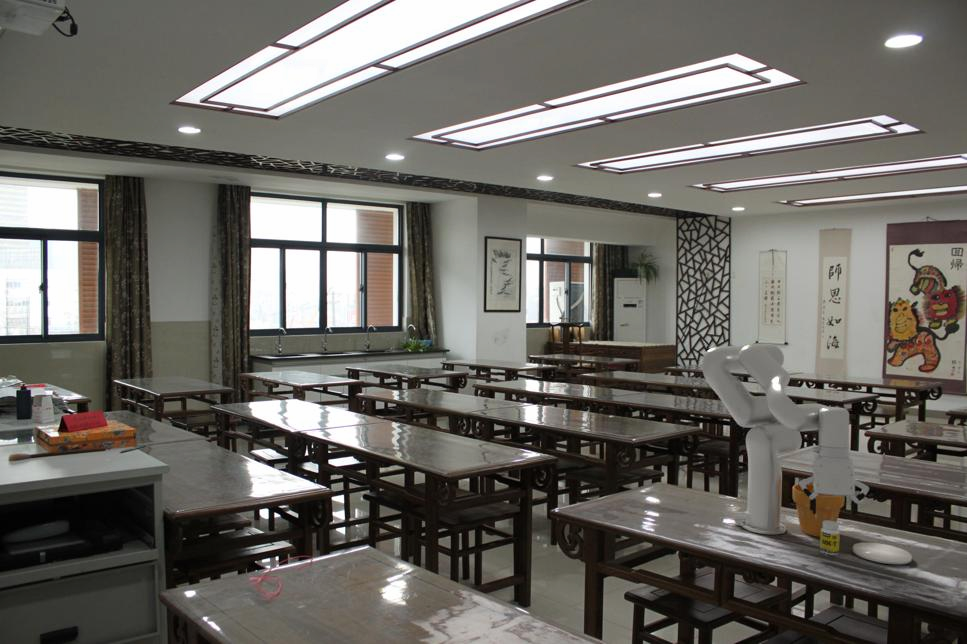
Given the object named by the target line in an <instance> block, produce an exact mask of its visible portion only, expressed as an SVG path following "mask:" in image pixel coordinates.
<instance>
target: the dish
mask: <svg viewBox="0 0 967 644" xmlns="http://www.w3.org/2000/svg"><path fill="white" fill-rule="evenodd" d="M852 552H853V553H854V554H855V555H856V556H858V557H860V558H862V559H865V560H868V561H872V562H876V563H879V564H885V565H886V564H888V565H906V564H910V563H911V562H912V558H913V555H912V554H911V553H910V552H909V551H907V550H905V549H903V548H900V547H897V546H893V545H889V544H886V543H878V542H858V543H855V544H853V545H852Z"/></svg>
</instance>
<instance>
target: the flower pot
mask: <svg viewBox="0 0 967 644" xmlns="http://www.w3.org/2000/svg"><path fill="white" fill-rule="evenodd" d="M806 488H807V489H808V490H809V491H810V492H811V491H812V490H813V489H814V487H813V483H809V484H806ZM845 498H846V496H836V495H824V494H818V495H817V496H816V497H815V499H816V514H813V511H812V510H810V498H809V497H808V496H807V495H806V494H805V493H804V492H803V490H802V488H801V486H800V484H799V483H798V484H794V485H792V501H794V502H795V505H796V511H797V518H798V522H799V527H800V531H801V532H802V533H804V534H807V535H808V536H809V535H810V536H813V537H819V536H820V535H821V528H822V527H823V526H822V524H823V521H825V520H829V521H834V522H837V521H838V518H839V514H840V511H841V508H843V507H844V505H845ZM837 523H838V522H837Z"/></svg>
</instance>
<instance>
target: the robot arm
mask: <svg viewBox="0 0 967 644" xmlns="http://www.w3.org/2000/svg"><path fill="white" fill-rule="evenodd" d="M784 361H785V355H784V353H783V351H782V350H781V349H780V347H778V345H775V344H772V343H750V344H748V345H729V346H728V345H726V346H725V345H723V346H715V347H712V348H710V349H708V350H707V351H705V353H704V354H703V357H702V361H701V369H702V373H703V374H702V375H703V377H704V378H705V381H706V382H707V384H708V385H709V387H710V388H711V389H712V390H713V391H714V393H715V394H716V395H717V396H718V398H719V399H720V401H721V402H722V404H723V406H724V407H725V409H726V410H727V411H728V412H729V414H730V416H731V417H732V418H733V420H734V421H735V422H736V424H737V425H738V426H740V427H742V428H750V429H749V430H748V432H747V433H746V437H745V445H746V446H745V447H746V453H747V459H748V460H747V461H748V462H747V463H748V464H747V466H748V469H747V471H748V473H747V474H748V475H747V478H748V479H747V503H746V504H747V508H746V510H745V511H741V512H740V511H736V510H733V511H732V510H731V518H734V519H735V520H741V525H740V526H741V527H742V528H743V529H745V530H747V531H749V532H752V533H756V534H762V535H771V536H772V535H775V536H776V535H781V534H784V533H785V532H786V531H787V528H786V526H785V525H784V524H783V523H781V521H782V520H781V517H782V516H781V515H782V487H783V485H782V483H783V470H782V467H781V464H780V462H779V461H780V460H779V458H778V456H785V455H786V456H787V455H790V454H794V453H796V452H798V451H799V450H800V448H801V446H802V442H803V441H802V439H803V438H802V435H801V433H800V432H809V431H810V432H811V431H818V445H817V446H812V452H813V453H816V454H818V455H816V456H815V460H814V466H813V475H812V476H809V477H807V478H805V479H802V480H800V481H799V482H798V484H800V486H801V488H802V490H803V492H804V493H805V494H806V495H807V496H808V497H809V498H810V510H812V511H813V514H816V499H815V497H816V496H817V495H818V494H824V495H836V496H845V497H849V498H850V499H851V501H850V516H851V518H853V519H855V518H856V515H858V514H859V513H858V512H859V511H858V510H859V507H858V505H859V503H860V502H861V501H862V500H863V499H864V498H865V497H866V495H867V494H868V493H869V490H870V487H869V486H868V485H866V484H864V483H862V482H860V481H858V480H857V479H855V478H856V477H855V468H854V463H853V459H852V457H850V413H849V411H848V410H847V409H846V408H845V407H844V408H843V407H839V406H838V407H837V406H827V405H825V404H821V403H802V404H800V403H799V404H796V403H795V402H794V401H792V399H791V398H790V397H789V396H788V395H787V394H786V393H785V391H784V390H785V389H786V387H787V386H788V385H789V382H790V381H791V376H790V373H789V372H788V371H787V370H785V368H783V367H782V366H783V365H784ZM745 372H746V373H748V374H749V375H750V377H751V378H752V379H753V380H754V381H755V382H756V383H757V384H758V385H759V386H760V387H761V389H762V390H763V391H764V392H765V395H759V396H758V395H757V396H755V395H752V394H751V393H750V392H749V390H748V389H747V388H746V386H745V385H744V383H743V382H742V381H741V380H740V379H738V378H737V377H736V376H734V375H733V374H732V373H745ZM806 484H813V487H814V489H813V490H812V491H811V492H810V491H809V490H808V489H807V488H806ZM856 487H857V488H859V489H861V491H860V492H859V493H858V494H855V493H856V491H855V490H856Z"/></svg>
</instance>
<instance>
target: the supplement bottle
mask: <svg viewBox="0 0 967 644" xmlns="http://www.w3.org/2000/svg"><path fill="white" fill-rule="evenodd" d="M822 526H823V527H822V528H821V535H820V537H819V551H820V553H822V554H824V553H825V554H824V555H828V554H829V556H838V555H839V554H840V538H841V537H840V536H841V535H840V533H841V532H840V530H839V528H840V527H839V526H840V525H839V522H834V521H829V520H825V521H823V524H822Z"/></svg>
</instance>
